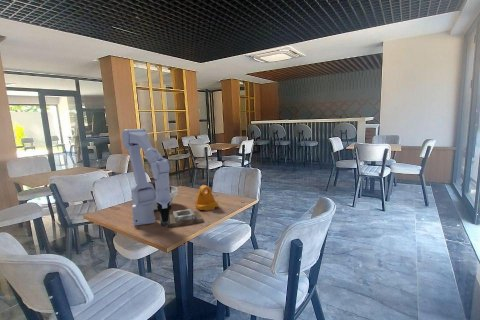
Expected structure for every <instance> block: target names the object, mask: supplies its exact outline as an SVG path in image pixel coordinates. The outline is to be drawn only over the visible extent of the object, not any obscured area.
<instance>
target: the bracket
mask: <svg viewBox="0 0 480 320" xmlns="http://www.w3.org/2000/svg"><path fill="white" fill-rule="evenodd" d="M194 205H195V208H196V209H197V210H198V211H210V210H215V208H218V207H219V202H218V201H216V200H215V198H214V196H213V193H212V188H211V187H209V186H208V185H207V184H202V185H201V186H199V190H198V192H197V196H196V199H195V203H194Z"/></svg>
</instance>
